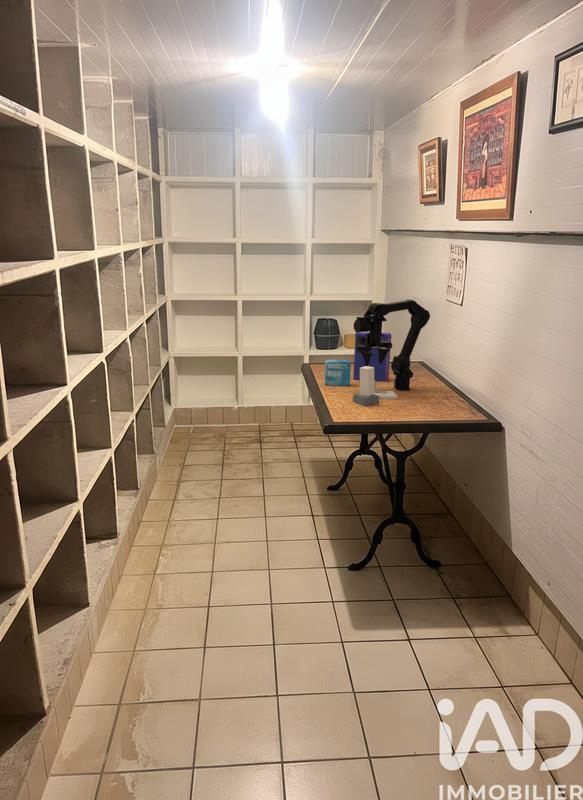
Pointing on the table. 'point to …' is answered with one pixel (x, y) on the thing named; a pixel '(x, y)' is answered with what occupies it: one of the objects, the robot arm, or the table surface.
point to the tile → (385, 394)
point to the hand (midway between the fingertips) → (373, 364)
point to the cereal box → (372, 360)
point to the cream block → (367, 381)
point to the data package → (337, 372)
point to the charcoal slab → (365, 399)
